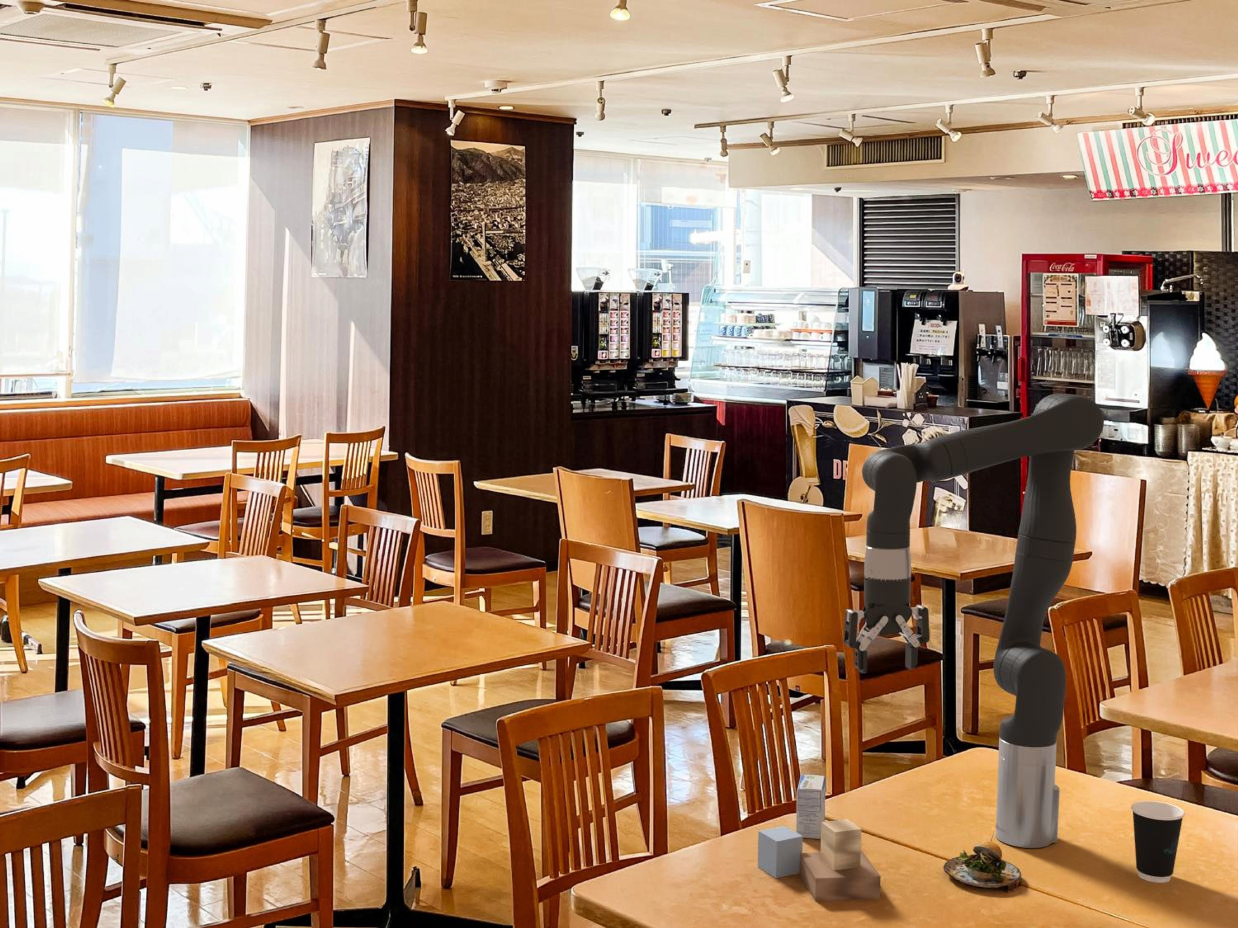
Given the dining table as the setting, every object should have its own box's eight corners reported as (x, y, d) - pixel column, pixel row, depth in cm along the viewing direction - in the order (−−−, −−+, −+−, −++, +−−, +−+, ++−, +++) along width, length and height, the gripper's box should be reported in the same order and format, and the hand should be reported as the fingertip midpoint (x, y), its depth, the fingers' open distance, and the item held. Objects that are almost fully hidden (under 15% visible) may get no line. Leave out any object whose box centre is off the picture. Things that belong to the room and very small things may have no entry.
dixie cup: (1183, 889, 216) (1187, 820, 214) (1128, 882, 218) (1132, 814, 217) (1179, 870, 223) (1182, 803, 222) (1126, 864, 226) (1129, 797, 224)
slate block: (783, 861, 225) (784, 825, 225) (801, 872, 221) (802, 835, 220) (757, 867, 223) (758, 830, 222) (775, 878, 218) (776, 841, 218)
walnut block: (861, 875, 221) (862, 850, 221) (879, 901, 211) (880, 875, 211) (799, 877, 220) (799, 852, 219) (815, 903, 210) (815, 878, 210)
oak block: (846, 856, 218) (847, 818, 218) (860, 866, 214) (861, 828, 213) (820, 859, 217) (821, 821, 216) (833, 870, 213) (834, 831, 212)
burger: (928, 871, 222) (930, 826, 222) (989, 861, 227) (991, 816, 226) (975, 900, 211) (976, 853, 211) (1038, 889, 216) (1040, 842, 215)
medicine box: (822, 840, 235) (823, 790, 234) (795, 837, 236) (796, 788, 235) (824, 823, 242) (826, 775, 241) (799, 821, 243) (800, 773, 242)
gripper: (917, 567, 234) (915, 661, 236) (837, 571, 231) (836, 667, 233) (938, 575, 227) (936, 672, 229) (856, 579, 224) (855, 678, 225)
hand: (886, 670), depth 231 cm, fingers open, 8 cm apart
